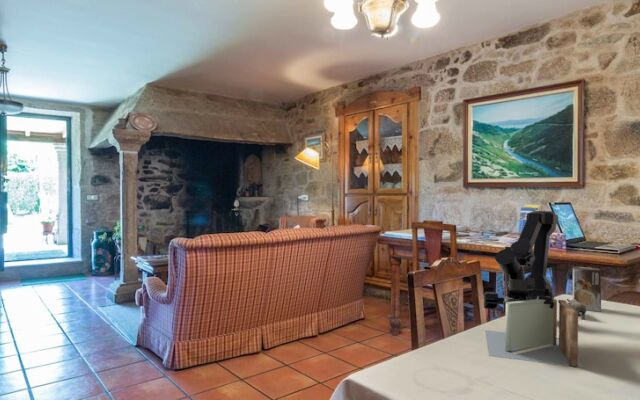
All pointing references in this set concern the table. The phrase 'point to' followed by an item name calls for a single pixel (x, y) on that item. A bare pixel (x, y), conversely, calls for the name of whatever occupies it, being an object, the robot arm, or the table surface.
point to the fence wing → (530, 324)
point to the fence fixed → (568, 332)
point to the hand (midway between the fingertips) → (519, 328)
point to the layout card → (526, 351)
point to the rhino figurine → (578, 307)
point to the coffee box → (587, 287)
